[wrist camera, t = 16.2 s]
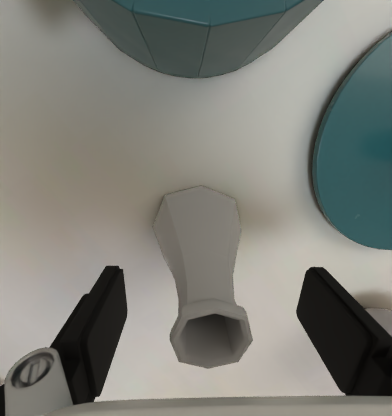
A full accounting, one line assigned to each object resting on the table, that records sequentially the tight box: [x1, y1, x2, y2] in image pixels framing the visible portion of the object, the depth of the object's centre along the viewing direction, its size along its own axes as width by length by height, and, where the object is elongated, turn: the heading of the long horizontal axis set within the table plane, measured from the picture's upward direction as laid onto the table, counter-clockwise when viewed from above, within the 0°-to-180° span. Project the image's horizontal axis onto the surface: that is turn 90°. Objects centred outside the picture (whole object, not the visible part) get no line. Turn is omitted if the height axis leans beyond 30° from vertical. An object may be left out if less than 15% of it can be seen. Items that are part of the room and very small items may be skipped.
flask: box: [153, 186, 253, 368], centre depth 13 cm, size 7×7×10 cm
